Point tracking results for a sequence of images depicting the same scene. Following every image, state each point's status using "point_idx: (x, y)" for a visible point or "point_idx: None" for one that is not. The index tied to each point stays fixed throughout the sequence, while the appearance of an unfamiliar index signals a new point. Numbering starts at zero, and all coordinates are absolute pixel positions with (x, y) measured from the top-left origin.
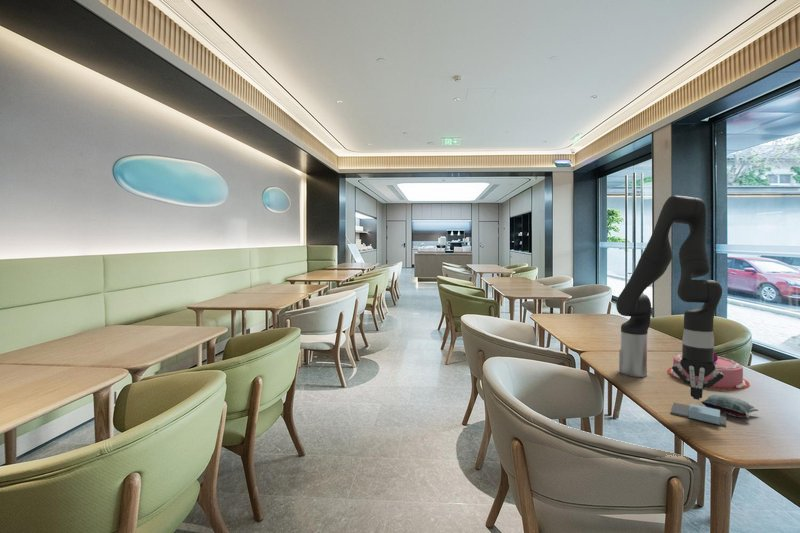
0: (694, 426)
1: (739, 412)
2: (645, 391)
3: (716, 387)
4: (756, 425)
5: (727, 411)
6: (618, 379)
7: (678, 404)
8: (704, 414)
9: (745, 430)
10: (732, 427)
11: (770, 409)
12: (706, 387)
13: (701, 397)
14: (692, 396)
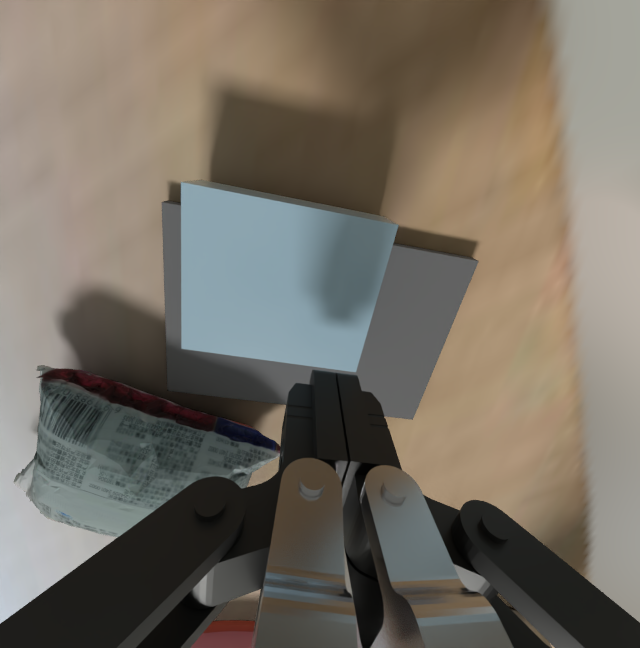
0: (371, 74)
1: (79, 386)
2: (498, 499)
3: (207, 628)
4: (23, 323)
5: (154, 401)
6: (569, 565)
7: (394, 403)
8: (291, 203)
9: (60, 199)
10: (133, 212)
11: (14, 534)
12: (232, 481)
13: (294, 388)
14: (362, 392)
